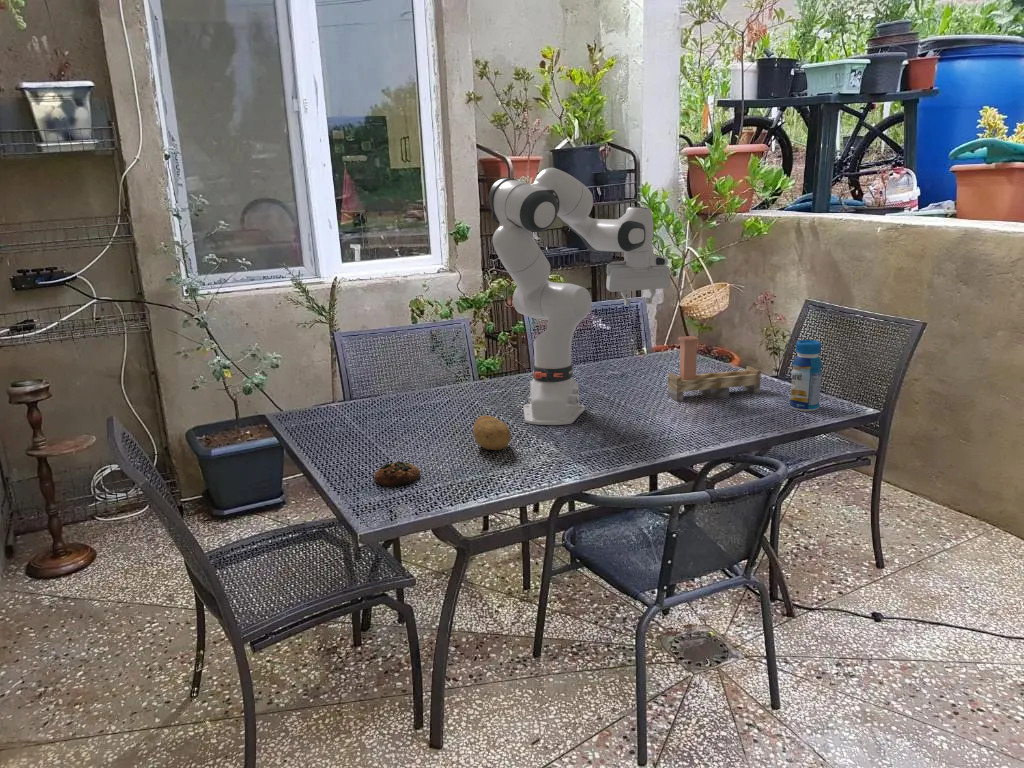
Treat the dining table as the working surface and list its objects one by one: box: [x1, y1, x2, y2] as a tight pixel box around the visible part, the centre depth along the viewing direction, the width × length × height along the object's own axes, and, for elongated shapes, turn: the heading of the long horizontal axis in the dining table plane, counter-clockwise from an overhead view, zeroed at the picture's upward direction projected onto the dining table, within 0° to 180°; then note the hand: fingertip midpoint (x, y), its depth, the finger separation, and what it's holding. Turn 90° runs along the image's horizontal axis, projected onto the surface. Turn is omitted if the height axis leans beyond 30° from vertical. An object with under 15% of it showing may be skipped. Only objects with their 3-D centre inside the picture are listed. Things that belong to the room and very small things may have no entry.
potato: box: [472, 414, 512, 451], centre depth 195 cm, size 10×14×8 cm
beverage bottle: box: [789, 339, 823, 412], centre depth 218 cm, size 8×8×20 cm
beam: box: [667, 365, 762, 402], centre depth 236 cm, size 28×9×7 cm, turn 101°
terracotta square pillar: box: [677, 335, 700, 380], centre depth 232 cm, size 5×5×14 cm
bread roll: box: [373, 460, 422, 488], centre depth 179 cm, size 11×11×5 cm
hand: (638, 304), depth 235 cm, fingers open, 6 cm apart
